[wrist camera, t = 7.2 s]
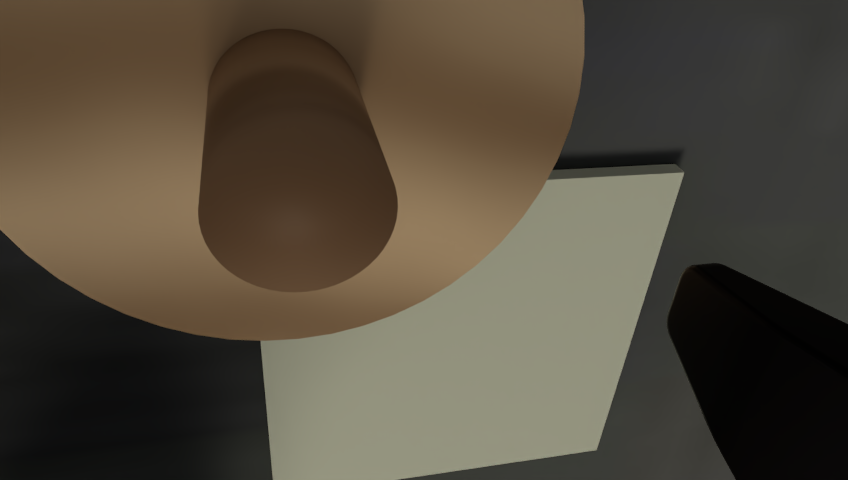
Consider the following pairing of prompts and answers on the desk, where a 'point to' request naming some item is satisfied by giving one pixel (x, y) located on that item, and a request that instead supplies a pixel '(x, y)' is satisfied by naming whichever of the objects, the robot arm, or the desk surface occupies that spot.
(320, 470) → the mat
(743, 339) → the robot arm
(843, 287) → the desk surface
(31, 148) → the lid
